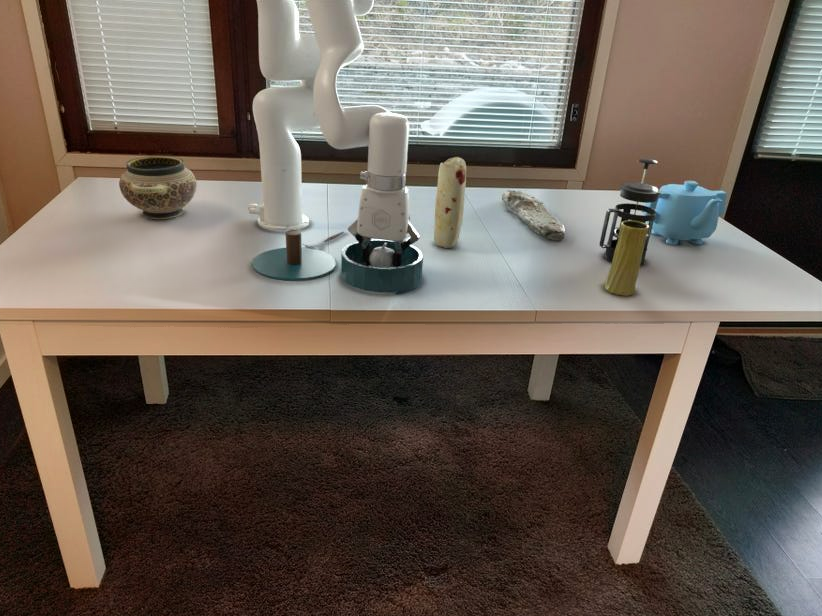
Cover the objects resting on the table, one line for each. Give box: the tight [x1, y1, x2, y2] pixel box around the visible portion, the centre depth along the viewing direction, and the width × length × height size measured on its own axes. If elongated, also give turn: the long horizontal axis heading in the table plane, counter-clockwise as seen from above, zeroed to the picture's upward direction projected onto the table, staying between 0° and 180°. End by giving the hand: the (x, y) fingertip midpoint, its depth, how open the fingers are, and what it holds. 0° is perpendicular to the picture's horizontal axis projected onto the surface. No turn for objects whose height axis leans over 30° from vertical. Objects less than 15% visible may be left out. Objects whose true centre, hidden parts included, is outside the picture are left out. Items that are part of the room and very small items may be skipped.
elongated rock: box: [501, 189, 566, 241], centre depth 174 cm, size 35×5×10 cm
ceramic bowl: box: [118, 155, 198, 220], centre depth 160 cm, size 24×18×15 cm
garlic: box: [369, 243, 394, 268], centre depth 135 cm, size 6×5×5 cm
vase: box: [604, 220, 649, 297], centre depth 132 cm, size 6×6×14 cm
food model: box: [433, 156, 467, 249], centre depth 150 cm, size 10×7×20 cm
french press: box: [598, 158, 662, 267], centre depth 146 cm, size 12×9×23 cm
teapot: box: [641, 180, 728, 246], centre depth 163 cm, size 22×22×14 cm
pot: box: [340, 238, 424, 295], centre depth 134 cm, size 17×17×6 cm
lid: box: [251, 229, 337, 282], centre depth 136 cm, size 18×18×8 cm
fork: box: [302, 231, 345, 250], centre depth 151 cm, size 3×16×2 cm, turn 152°
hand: (381, 265), depth 136 cm, fingers closed on garlic, 5 cm apart
